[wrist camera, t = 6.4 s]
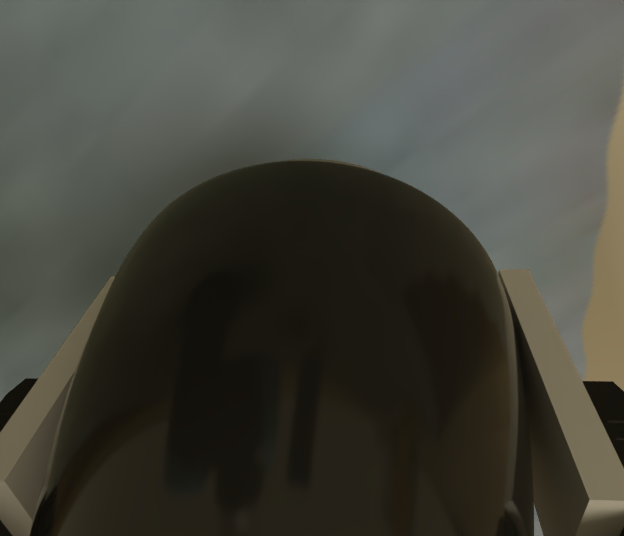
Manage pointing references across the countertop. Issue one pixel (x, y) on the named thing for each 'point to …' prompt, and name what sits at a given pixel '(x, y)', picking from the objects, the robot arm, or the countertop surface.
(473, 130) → the countertop surface
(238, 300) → the pump dispenser
